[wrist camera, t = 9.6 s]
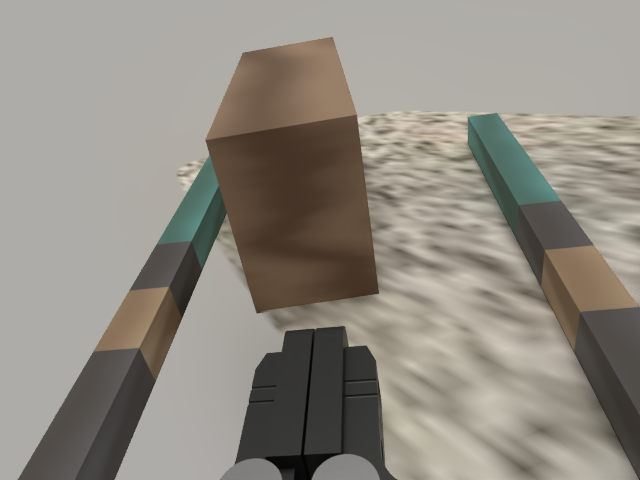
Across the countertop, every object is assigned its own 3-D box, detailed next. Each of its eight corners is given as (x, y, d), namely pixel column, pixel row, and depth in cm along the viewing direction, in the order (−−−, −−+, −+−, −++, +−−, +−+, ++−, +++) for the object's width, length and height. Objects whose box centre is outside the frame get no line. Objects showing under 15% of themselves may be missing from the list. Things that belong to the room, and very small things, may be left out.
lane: (496, 139, 37) (496, 113, 36) (729, 501, 14) (750, 458, 13) (218, 174, 39) (211, 150, 38) (40, 525, 17) (10, 491, 16)
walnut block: (350, 162, 38) (332, 36, 33) (379, 295, 24) (356, 114, 20) (271, 175, 38) (242, 52, 33) (256, 313, 25) (205, 140, 20)
